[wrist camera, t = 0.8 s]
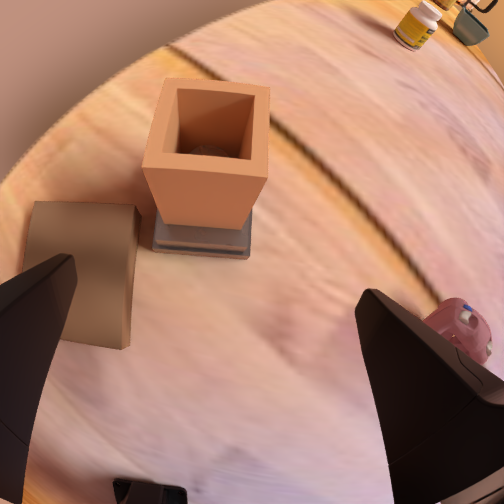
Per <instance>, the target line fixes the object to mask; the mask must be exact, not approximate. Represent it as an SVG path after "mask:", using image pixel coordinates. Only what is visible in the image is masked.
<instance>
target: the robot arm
mask: <svg viewBox="0 0 504 504" xmlns="http://www.w3.org/2000/svg"><path fill="white" fill-rule="evenodd" d="M77 283H78V276H77V270H76V264H75V259H74V256H73V255H72V254H67V253H59V254H57V255H55V256H53V257H51V258H49V259H47V260H45V261H43V262H42V263H40V264H38V265H36V266H34V267H32V268H30V269H28V270H26V271H25V272H23V273H21V274H19V275H17V276H15V277H14V278H12V279H10V280H8V281H6V282H5V283H3V284H1V285H0V498H2V499H4V500H7V501H9V502H11V503H14V504H22V497H23V486H24V477H25V470H26V463H27V457H28V451H29V444H30V439H31V434H32V430H33V425H34V421H35V417H36V413H37V409H38V405H39V401H40V398H41V394H42V390H43V387H44V384H45V380H46V377H47V374H48V371H49V368H50V365H51V362H52V359H53V356H54V353H55V350H56V348H57V345H58V342H59V339H60V337H61V334H62V332H63V329H64V326H65V323H66V319H67V316H68V312H69V309H70V306H71V302H72V299H73V296H74V293H75V290H76V287H77ZM355 318H356V323H357V328H358V334H359V339H360V345H361V350H362V355H363V359H364V362H365V366H366V370H367V373H368V377H369V381H370V385H371V389H372V393H373V397H374V401H375V405H376V409H377V413H378V418H379V422H380V427H381V431H382V436H383V441H384V445H385V450H386V456H387V461H388V464H389V465H388V467H389V473H390V478H391V485H392V491H393V498H394V504H436V503H438V502H440V503H441V504H504V381H503V380H501V379H500V378H499V377H497V376H496V375H494V374H493V373H491V372H490V371H489V370H487V369H486V368H484V367H483V366H482V365H480V364H479V363H477V362H476V361H474V360H473V359H472V358H470V357H469V356H468V355H467V354H465V353H464V352H463V351H461V350H460V349H459V348H457V347H455V346H454V345H453V344H452V343H451V342H449V341H448V340H447V339H445V338H444V337H443V336H441V335H440V334H439V333H437V332H436V331H435V330H433V329H432V328H431V327H429V326H428V325H427V324H425V323H424V322H423V321H421V320H420V319H418V318H417V317H416V316H414V315H413V314H412V313H410V312H409V311H407V310H406V309H405V308H403V307H402V306H401V305H399V304H398V303H396V302H395V301H394V300H392V299H391V298H389V297H388V296H386V295H385V294H384V293H382V292H381V291H379V290H378V289H370V288H368V289H366V290H365V291H364V292H363V294H362V296H361V298H360V300H359V302H358V304H357V306H356V308H355ZM117 483H119V484H120V485H119V484H117ZM113 488H114V493H115V497H116V502H117V504H188V501H187V491H186V489H184V488H181V487H170V486H161V485H154V484H147V483H140V482H134V481H128V480H123V479H114V481H113ZM179 492H183V493H179Z"/></svg>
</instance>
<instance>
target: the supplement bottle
mask: <svg viewBox="0 0 504 504" xmlns="http://www.w3.org/2000/svg"><path fill="white" fill-rule="evenodd" d="M441 17H442V14H441V13H440V12H439V11H438V10H437V9H436V8H435V7H433V6H432V5H431V4H429V3H427V2H426V1H422V2H421V3H420V4H419V8H417V7H412V8H411V9H410V10H409V11H408V13H407V14H406V15H405V17H404V18H403V19H402V21H401V22H400V23H399V25H398V26H397V27H396V29H395V30H394V31H393V35H394V37H395V38H396V39H397V40H398V41H399V42H400V43H401V44H402V45H403V46H405V47H406V48H408V49H410V50H412V51H418V50H419V49H420V48H421V46H422V45H423V44H424V43H425V42H426V41H427V40H428V38H429V37H430V36H431V35H432V34H433V33H434V32H435V31H436V29H437V23H436V21H438V20H440V18H441Z"/></svg>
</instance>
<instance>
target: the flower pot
mask: <svg viewBox="0 0 504 504" xmlns="http://www.w3.org/2000/svg"><path fill="white" fill-rule="evenodd" d="M453 34H454V35H455V36H457V37H458V38H459V39H460V40H461V41H462V42H463V43H464V44H465V45H466V46H472V45H476V44H478V43H480V42H481V41H483V40H485V39H486V38H487V37H489V32H488V29H487V28H486V27H485V26H484V25H483V24H482V23H481V22H480V21H479V20H478V19H477V18H475V17H474V15H472V14H471V13H470V12H469V11H468V10H467V9H466V8H464V7H463V8H462V10H461V11H460V13H459V14H458V16H457V18H456V20H455V22H454V27H453Z"/></svg>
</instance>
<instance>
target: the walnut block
mask: <svg viewBox="0 0 504 504" xmlns="http://www.w3.org/2000/svg"><path fill="white" fill-rule="evenodd" d="M140 222H141V214H140V213H139V211H138V209H137V208H136V206H135V205H127V204H107V203H83V202H51V201H35V203H34V207H33V211H32V216H31V220H30V225H29V230H28V236H27V242H26V248H25V254H24V262H23V270H22V273H23V272H25V271H26V270H28V269H30V268H32V267H34V266H36V265H38V264H40V263H42V262H43V261H45V260H47V259H49V258H51V257H53V256H55V255H57V254H59V253H67V254H72V255H73V256H74V259H75V264H76V270H77V276H78V283H77V287H76V290H75V293H74V296H73V299H72V302H71V306H70V309H69V312H68V316H67V319H66V323H65V326H64V329H63V332H62V334H61V337H60V339H62V340H67V341H72V342H77V343H82V344H88V345H93V346H99V347H105V348H112V349H119V350H122V349H124V348H126V347H128V346H130V331H131V310H132V294H133V282H134V271H135V261H136V252H137V244H138V236H139V229H140Z"/></svg>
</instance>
